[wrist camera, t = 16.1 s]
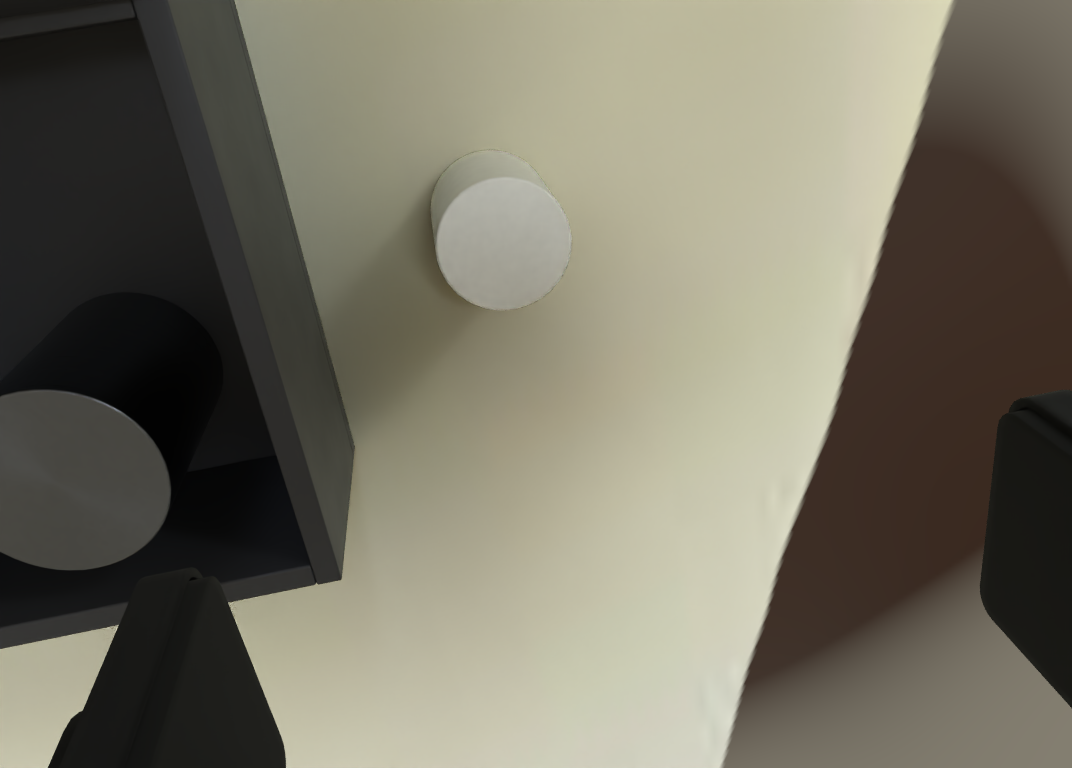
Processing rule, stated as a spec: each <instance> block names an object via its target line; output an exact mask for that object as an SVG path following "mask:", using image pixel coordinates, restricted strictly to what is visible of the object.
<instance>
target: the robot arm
mask: <svg viewBox="0 0 1072 768" xmlns="http://www.w3.org/2000/svg"><path fill="white" fill-rule="evenodd" d="M980 594H981V599H982V602H983V605H984V607H985V609H986V611H987V613H988V615H989V616H990V617H991V619H992V620H993V621H994V622H995V623H996V624H997V625H998V627H999V628H1000V629H1001V630H1002V631H1003V632H1004V633H1005V634H1006V635H1007V637H1008V638H1009V639H1010V640H1011V641H1012V642H1013V643H1014V644H1015V646H1016V647H1017V648H1018V649H1019V650H1020V651H1021V652H1022V653H1023V654H1024V655H1025V657H1026V658H1027V659H1028V660H1029V661H1030V662H1031V663H1032V664H1033V666H1035V668H1036V669H1037V670H1038V671H1039V672H1040V673H1041V674H1042V676H1043V677H1044V678H1045V679H1046V680H1047V681H1048V682H1049V683H1050V684H1051V686H1053V687H1054V689H1055V690H1056V691H1057V692H1058V693H1059V694H1060V695H1061V696H1062V698H1063V699H1064V700H1065V701H1066V702H1067V703H1068V704H1069V705H1070V707H1071V708H1072V391H1070V390H1059V391H1055V392H1049V393H1044V394H1039V395H1035V396H1030V397H1025V398H1020V399H1018V400H1016V401H1014V403H1013V404H1012V405H1011V407H1010V409H1009V413H1007V414H1005V415H1003V416H1002V417H1001V419H1000V420H999V424H998V429H997V439H996V447H995V456H994V466H993V474H992V483H991V492H990V501H989V511H988V519H987V528H986V537H985V546H984V554H983V563H982V572H981V581H980ZM48 768H286V758H285V750H284V745H283V741H282V738H281V735H280V733H279V730H278V728H277V725H276V723H275V720H274V718H273V715H272V713H271V710H270V708H269V705H268V703H267V700H266V697H265V695H264V692H263V690H262V687H261V685H260V682H259V680H258V677H257V675H256V672H255V670H254V667H253V665H252V662H251V660H250V657H249V655H248V652H247V650H246V647H245V645H244V642H243V640H242V637H241V635H240V632H239V630H238V627H237V625H236V622H235V620H234V617H233V615H232V612H231V609H230V607H229V604H228V602H227V599H226V597H225V594H224V592H223V589H222V587H221V585H220V583H219V581H218V580H217V578H216V577H213V576H211V577H206V578H203V577H202V575H201V573H200V572H199V571H198V570H197V569H196V568H192V567H191V568H186V569H181V570H176V571H171V572H166V573H161V574H156V575H151V576H147V577H143V578H141V579H140V580H139V581H138V583H137V584H136V586H135V588H134V591H133V593H132V596H131V598H130V600H129V603H128V605H127V607H126V610H125V612H124V614H123V617H122V619H121V622H120V624H119V626H118V629H117V631H116V633H115V636H114V638H113V640H112V643H111V645H110V648H109V650H108V652H107V655H106V657H105V659H104V662H103V664H102V666H101V669H100V671H99V674H98V676H97V678H96V681H95V683H94V685H93V688H92V690H91V693H90V695H89V697H88V700H87V702H86V704H85V707H84V709H83V711H81V712H79V713H78V714H77V715H75V716H74V717H73V718H71V720H70V722H69V723H68V725H67V727H66V728H65V730H64V732H63V734H62V736H61V739H60V741H59V743H58V746H57V748H56V750H55V753H54V755H53V757H52V759H51V762H50V764H49V766H48Z"/></svg>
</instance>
